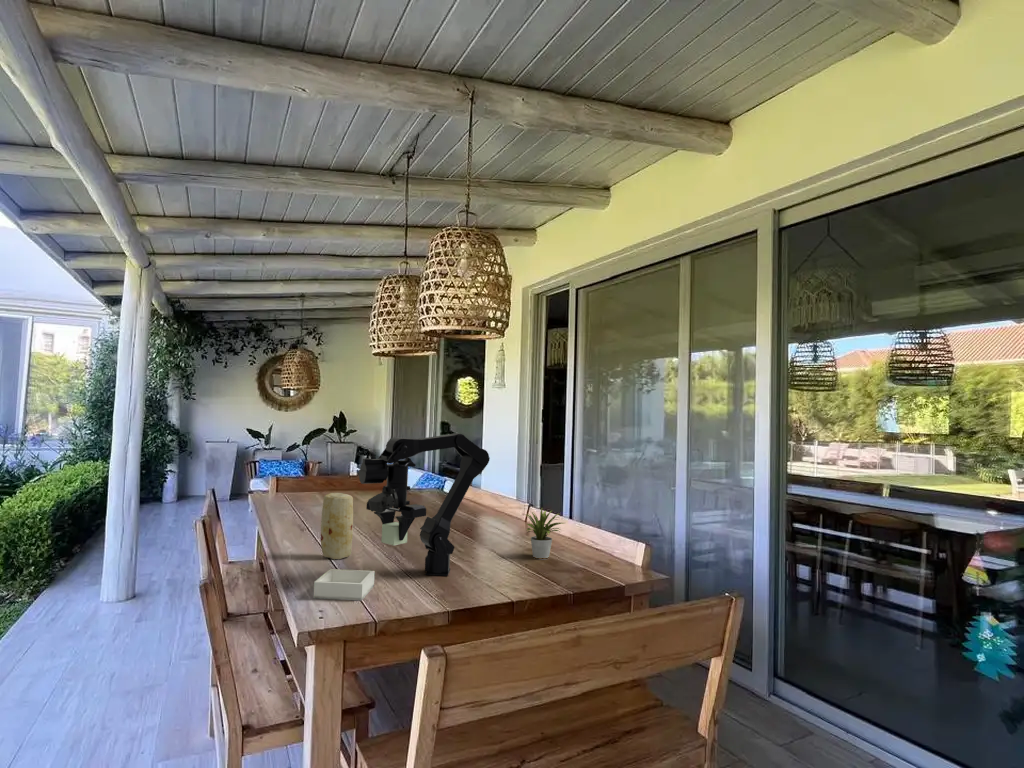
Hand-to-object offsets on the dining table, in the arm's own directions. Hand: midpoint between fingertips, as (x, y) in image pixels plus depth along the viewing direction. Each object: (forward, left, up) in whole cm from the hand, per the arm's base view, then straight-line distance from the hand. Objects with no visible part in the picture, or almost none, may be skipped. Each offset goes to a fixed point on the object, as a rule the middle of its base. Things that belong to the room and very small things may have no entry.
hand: (394, 538), depth 167 cm
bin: (+9, +13, -11) cm, 20 cm away
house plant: (-42, -30, -11) cm, 52 cm away
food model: (+22, -20, -11) cm, 32 cm away
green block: (0, 0, -1) cm, 1 cm away
